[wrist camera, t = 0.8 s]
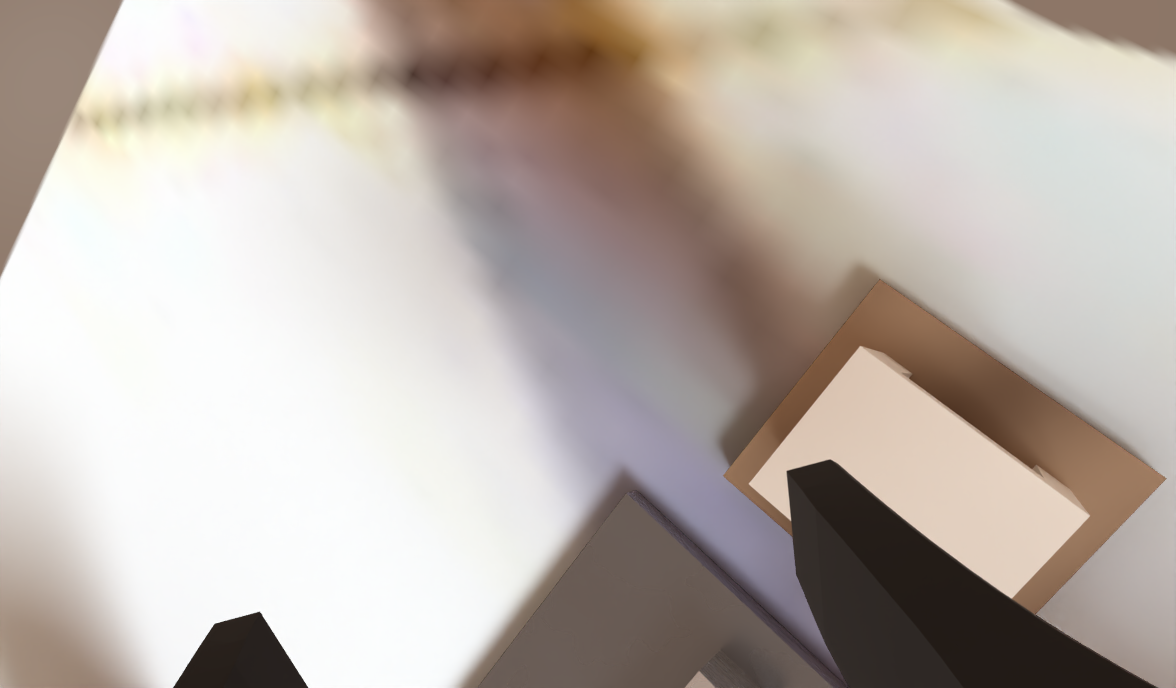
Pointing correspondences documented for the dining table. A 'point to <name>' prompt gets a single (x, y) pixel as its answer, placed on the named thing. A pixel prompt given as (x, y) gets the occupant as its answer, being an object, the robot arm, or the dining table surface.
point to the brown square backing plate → (988, 403)
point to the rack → (652, 620)
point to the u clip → (929, 472)
